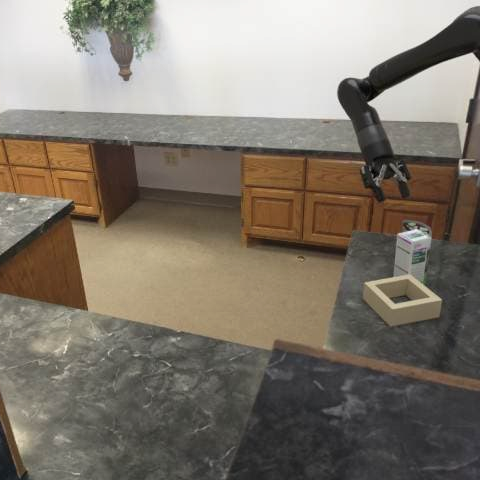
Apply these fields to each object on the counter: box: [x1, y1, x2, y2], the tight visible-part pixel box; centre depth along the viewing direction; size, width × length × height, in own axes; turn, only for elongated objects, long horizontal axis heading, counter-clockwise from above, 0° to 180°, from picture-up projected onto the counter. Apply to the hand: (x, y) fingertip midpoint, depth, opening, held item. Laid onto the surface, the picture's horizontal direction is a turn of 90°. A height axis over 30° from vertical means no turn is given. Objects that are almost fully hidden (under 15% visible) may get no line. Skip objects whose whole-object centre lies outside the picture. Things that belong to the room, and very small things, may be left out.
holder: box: [362, 274, 443, 328], centre depth 126 cm, size 13×13×5 cm
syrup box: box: [392, 229, 432, 286], centre depth 133 cm, size 6×6×14 cm
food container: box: [401, 219, 433, 240], centre depth 144 cm, size 12×6×10 cm, turn 171°
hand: (394, 199), depth 136 cm, fingers open, 8 cm apart
